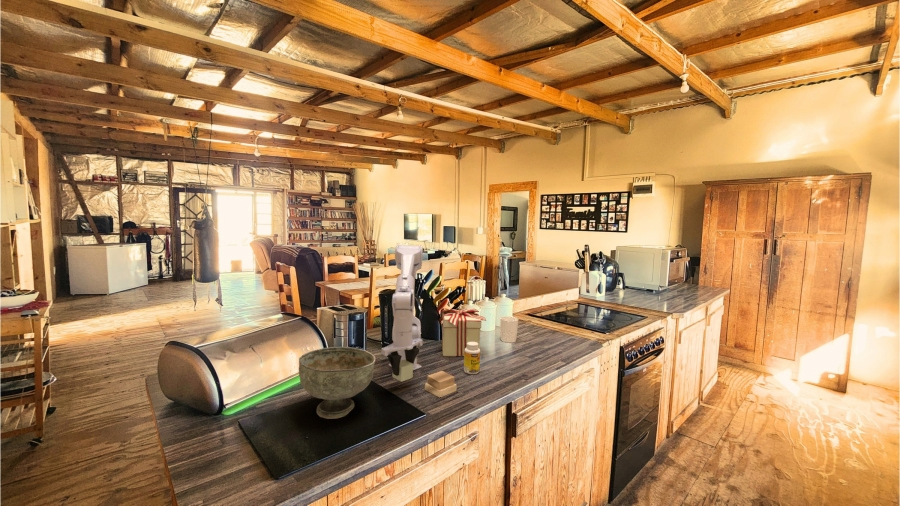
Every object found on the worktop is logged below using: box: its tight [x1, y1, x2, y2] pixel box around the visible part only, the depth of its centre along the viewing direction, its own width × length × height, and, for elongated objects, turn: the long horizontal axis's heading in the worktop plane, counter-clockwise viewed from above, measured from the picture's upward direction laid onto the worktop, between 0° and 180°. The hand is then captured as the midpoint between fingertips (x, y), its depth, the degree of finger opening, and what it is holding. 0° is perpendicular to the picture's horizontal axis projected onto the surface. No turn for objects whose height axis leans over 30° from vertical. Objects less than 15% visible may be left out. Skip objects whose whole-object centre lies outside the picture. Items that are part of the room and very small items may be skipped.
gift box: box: [441, 308, 487, 357], centre depth 149 cm, size 17×18×17 cm
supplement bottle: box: [463, 342, 481, 375], centre depth 130 cm, size 6×6×10 cm
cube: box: [391, 360, 414, 382], centre depth 116 cm, size 4×4×4 cm
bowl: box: [298, 346, 376, 420], centre depth 102 cm, size 20×19×15 cm
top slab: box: [426, 370, 455, 390], centre depth 115 cm, size 6×6×2 cm
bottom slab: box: [424, 382, 458, 398], centre depth 115 cm, size 7×7×2 cm
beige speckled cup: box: [499, 315, 519, 344], centre depth 165 cm, size 8×8×10 cm
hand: (402, 372), depth 116 cm, fingers closed on cube, 4 cm apart
